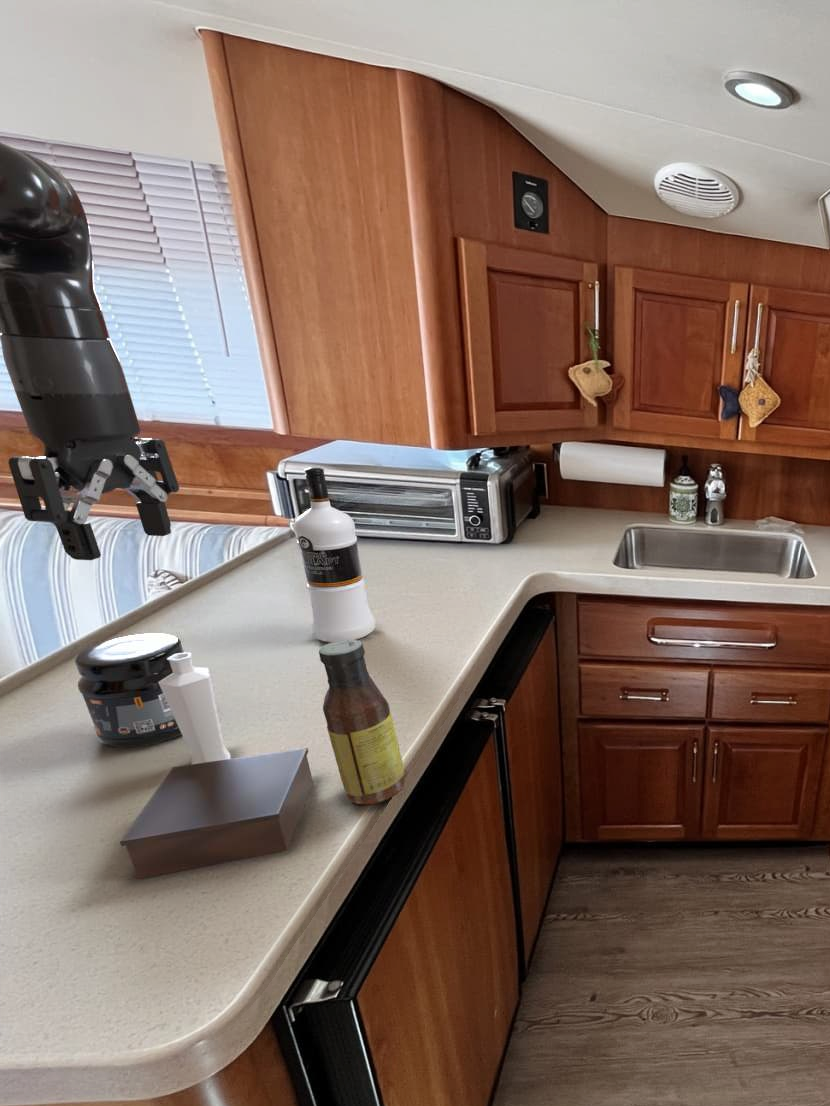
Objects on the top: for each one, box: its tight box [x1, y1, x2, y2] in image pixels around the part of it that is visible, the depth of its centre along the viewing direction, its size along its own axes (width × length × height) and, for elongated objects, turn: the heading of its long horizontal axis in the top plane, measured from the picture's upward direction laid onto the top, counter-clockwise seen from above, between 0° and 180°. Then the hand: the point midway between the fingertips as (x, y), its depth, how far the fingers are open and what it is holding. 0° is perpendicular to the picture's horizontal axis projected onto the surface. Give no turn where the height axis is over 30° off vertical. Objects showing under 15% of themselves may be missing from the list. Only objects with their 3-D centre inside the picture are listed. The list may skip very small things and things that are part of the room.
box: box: [119, 747, 314, 880], centre depth 70 cm, size 12×12×5 cm
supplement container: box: [74, 633, 194, 748], centre depth 83 cm, size 10×10×12 cm
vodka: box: [293, 466, 376, 643], centre depth 109 cm, size 9×9×30 cm
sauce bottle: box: [318, 639, 406, 805], centre depth 74 cm, size 7×6×20 cm
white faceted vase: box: [158, 651, 232, 765], centre depth 77 cm, size 5×4×15 cm
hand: (124, 546), depth 67 cm, fingers open, 8 cm apart
